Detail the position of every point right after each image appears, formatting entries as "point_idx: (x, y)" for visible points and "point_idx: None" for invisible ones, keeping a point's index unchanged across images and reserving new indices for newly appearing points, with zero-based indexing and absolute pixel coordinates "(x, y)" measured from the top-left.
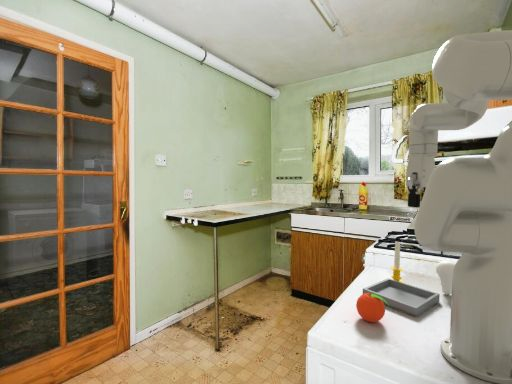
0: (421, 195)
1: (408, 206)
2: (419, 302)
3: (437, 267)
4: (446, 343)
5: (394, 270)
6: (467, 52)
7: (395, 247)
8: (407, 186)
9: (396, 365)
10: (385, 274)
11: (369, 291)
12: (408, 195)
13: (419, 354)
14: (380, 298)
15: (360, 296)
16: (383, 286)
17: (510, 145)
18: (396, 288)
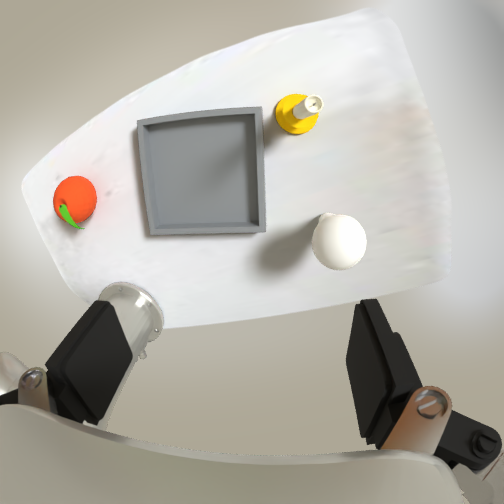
0: (385, 361)
1: (99, 301)
2: (214, 208)
3: (322, 226)
4: (117, 289)
5: (290, 109)
6: None
7: (301, 101)
8: (14, 407)
9: (56, 265)
10: (339, 64)
11: (138, 137)
12: (54, 355)
13: (86, 271)
14: (68, 221)
15: (56, 191)
16: (224, 116)
17: None
18: (248, 137)
